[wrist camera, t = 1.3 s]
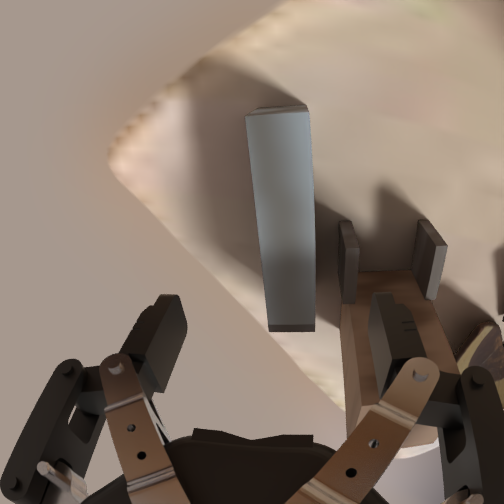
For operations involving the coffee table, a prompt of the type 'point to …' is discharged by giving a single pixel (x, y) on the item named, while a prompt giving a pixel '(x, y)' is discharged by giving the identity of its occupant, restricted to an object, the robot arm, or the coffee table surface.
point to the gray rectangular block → (285, 213)
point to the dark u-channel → (404, 292)
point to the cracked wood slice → (484, 353)
